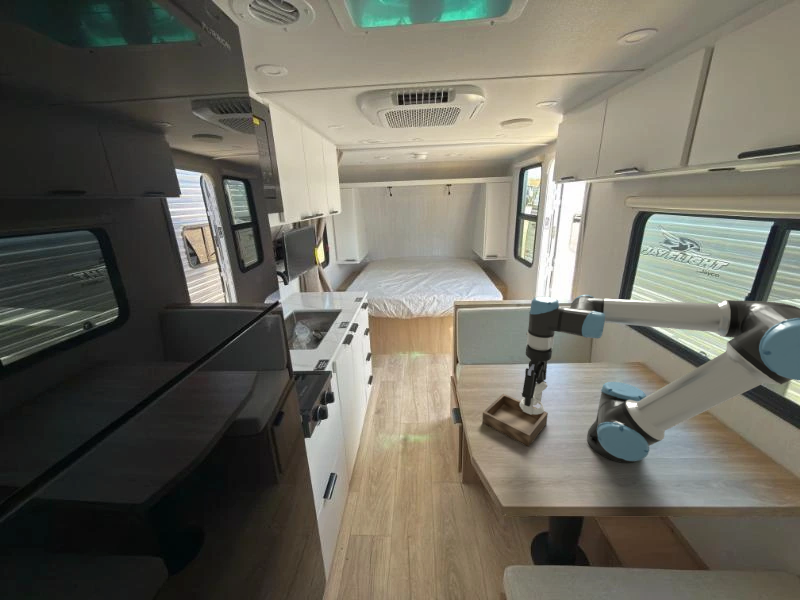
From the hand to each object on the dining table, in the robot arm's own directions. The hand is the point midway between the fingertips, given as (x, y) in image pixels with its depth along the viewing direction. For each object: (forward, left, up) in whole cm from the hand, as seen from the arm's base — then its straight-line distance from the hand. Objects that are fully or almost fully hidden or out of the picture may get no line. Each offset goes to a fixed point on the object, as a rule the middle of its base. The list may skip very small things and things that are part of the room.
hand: (532, 406), depth 103 cm
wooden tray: (+8, -6, -15) cm, 18 cm away
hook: (0, 0, -1) cm, 1 cm away
